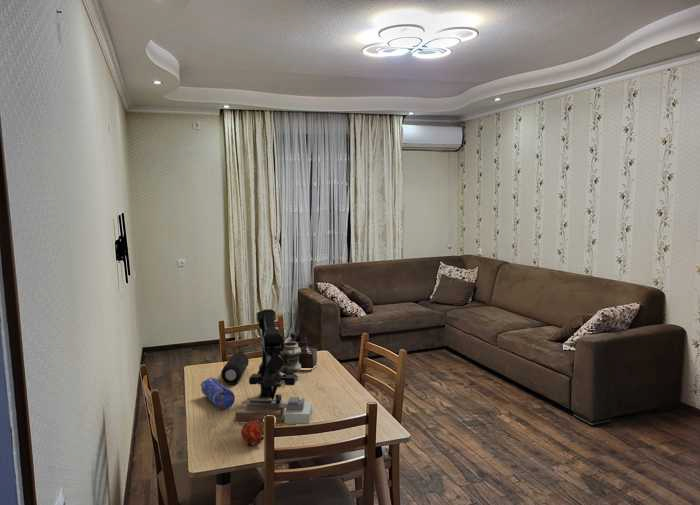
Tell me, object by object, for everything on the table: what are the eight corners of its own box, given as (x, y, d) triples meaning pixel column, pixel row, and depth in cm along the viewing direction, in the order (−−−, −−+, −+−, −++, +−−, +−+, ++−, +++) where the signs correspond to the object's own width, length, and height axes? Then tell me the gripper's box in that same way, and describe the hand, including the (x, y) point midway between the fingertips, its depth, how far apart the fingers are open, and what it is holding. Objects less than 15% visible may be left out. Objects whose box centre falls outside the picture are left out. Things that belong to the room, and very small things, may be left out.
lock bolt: (270, 408, 211) (270, 396, 210) (271, 405, 213) (271, 394, 213) (299, 408, 210) (299, 396, 210) (300, 406, 213) (300, 394, 212)
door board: (242, 410, 219) (242, 396, 218) (284, 411, 218) (284, 396, 218) (235, 422, 207) (235, 407, 206) (279, 423, 206) (279, 408, 206)
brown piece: (318, 364, 282) (317, 332, 280) (312, 371, 271) (312, 337, 269) (291, 362, 285) (290, 331, 283) (284, 369, 274) (284, 336, 272)
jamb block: (289, 411, 218) (288, 394, 217) (312, 411, 218) (312, 394, 217) (284, 423, 206) (284, 405, 206) (309, 423, 206) (309, 405, 205)
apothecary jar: (297, 382, 253) (297, 347, 252) (274, 381, 255) (274, 346, 253) (303, 374, 265) (303, 340, 263) (281, 373, 267) (281, 339, 265)
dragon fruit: (258, 438, 197) (253, 457, 185) (239, 426, 195) (233, 445, 184) (270, 422, 195) (266, 440, 183) (252, 410, 194) (246, 428, 182)
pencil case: (200, 397, 235) (199, 376, 234) (218, 393, 239) (218, 373, 239) (216, 413, 216) (216, 391, 216) (235, 408, 221) (235, 387, 220)
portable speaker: (240, 385, 249) (240, 365, 248) (220, 385, 249) (219, 365, 248) (249, 369, 275) (249, 350, 274) (231, 369, 275) (230, 350, 274)
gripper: (245, 368, 202) (245, 406, 204) (292, 369, 202) (292, 407, 203) (252, 360, 214) (252, 396, 215) (296, 361, 213) (296, 397, 214)
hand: (272, 399), depth 212 cm, fingers closed
